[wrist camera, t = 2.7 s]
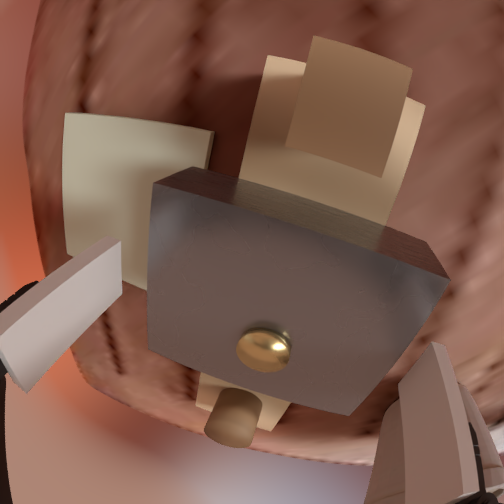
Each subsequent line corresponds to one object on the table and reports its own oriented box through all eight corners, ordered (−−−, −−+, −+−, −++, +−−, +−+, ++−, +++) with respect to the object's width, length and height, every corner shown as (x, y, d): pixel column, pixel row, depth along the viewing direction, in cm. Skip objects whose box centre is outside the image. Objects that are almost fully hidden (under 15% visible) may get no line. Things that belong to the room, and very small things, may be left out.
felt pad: (70, 112, 16) (65, 113, 16) (215, 131, 15) (210, 132, 14) (71, 250, 22) (67, 253, 21) (187, 301, 21) (184, 306, 20)
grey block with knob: (192, 166, 11) (145, 185, 8) (426, 242, 10) (454, 286, 7) (175, 312, 15) (144, 354, 12) (350, 370, 14) (348, 422, 11)
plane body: (285, 73, 13) (219, 10, 4) (397, 109, 12) (494, 101, 4) (215, 365, 23) (169, 458, 15) (281, 388, 22) (254, 487, 14)
